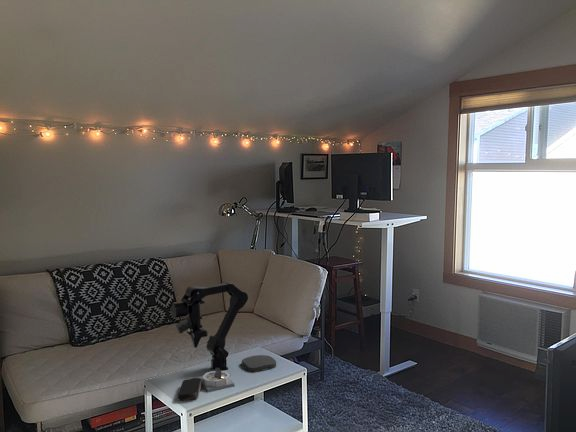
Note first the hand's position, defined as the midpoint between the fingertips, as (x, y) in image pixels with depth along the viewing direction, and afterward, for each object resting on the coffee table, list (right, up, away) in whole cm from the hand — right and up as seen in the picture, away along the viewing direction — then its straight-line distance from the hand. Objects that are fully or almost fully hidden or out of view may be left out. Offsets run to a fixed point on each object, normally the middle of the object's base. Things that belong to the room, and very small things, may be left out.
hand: (195, 347), depth 231 cm
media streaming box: (+29, -12, +11) cm, 33 cm away
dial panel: (+11, -14, -10) cm, 20 cm away
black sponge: (+1, -15, -18) cm, 24 cm away
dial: (+11, -12, -10) cm, 19 cm away
